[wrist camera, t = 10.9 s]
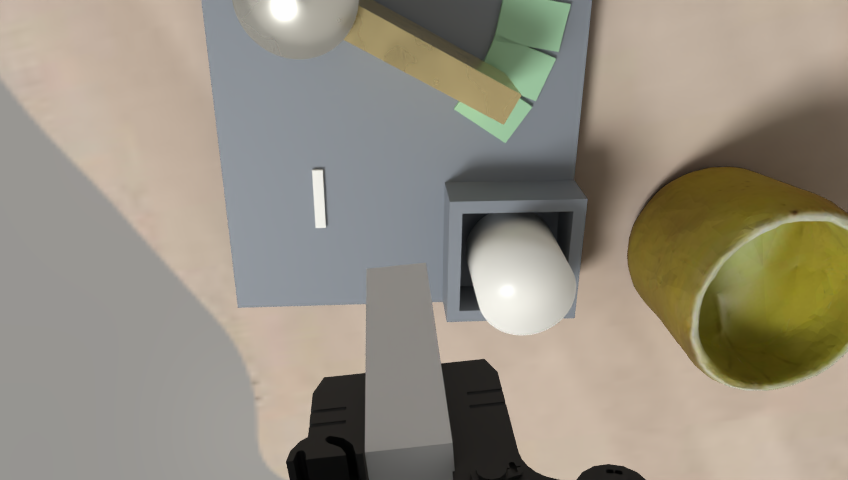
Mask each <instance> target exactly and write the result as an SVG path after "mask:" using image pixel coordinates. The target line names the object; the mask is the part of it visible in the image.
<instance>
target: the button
mask: <svg viewBox="0 0 848 480" xmlns="http://www.w3.org/2000/svg"><path fill="white" fill-rule="evenodd" d="M465 254H466V260H467V264H468V267H469V271H470V275H471V279H472V282H473V286H474V290H475V294H476V297H477V301H478V305H479V308H480V311H481V313H482V315H483V316H484V318H485V319H486V320H487V321H488V322H489V323H490V324H491V325H492V326H493V327H495V328H496V329H498V330H500V331H502V332H505V333H508V334H513V335H531V334H536V333H540V332H543V331H545V330H547V329H549V328H551V327H553V326H554V325H556V324H557V323H558V322H559V321H561V320H562V319H563V318H564V317H565V315H566V314H567V313H568V311H569V310H570V308H571V306H572V304H573V302H574V299H575V295H576V280H575V276H574V273H573V271H572V269H571V267H570V265H569V264H568V262H567V260H566V258H565V256H564V254H563V252H562V251H561V249H560V247H559V245H558V243H557V241H556V240H555V238H554V236H553V234H552V232H551V230H550V228H549V227H548V225H547V224H546V222H545V221H544V220H543V219H542V218H541V217H540V216H538V215H537V214H535V213H534V212H519V213H489V214H488V215H486V216H484V217H483V218H482V219H481V220H479V221H478V222H477V223H476V225H475V226H474V227H473V228H472V230H471V232H470V234H469V236H468V238H467V242H466V248H465Z"/></svg>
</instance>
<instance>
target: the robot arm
mask: <svg viewBox="0 0 848 480" xmlns="http://www.w3.org/2000/svg"><path fill="white" fill-rule="evenodd" d="M286 464H287V468H288V473H289V478H290V480H558V479H554V478H549V477H546V476H543V475H541V474H539V473H537V472H535V471H534V470H532V469H531V468H529V467H528V466H527V465H526V464H525V462H524V461H523V460H522V459H521V457H520V454H519V452H518V449H517V445H516V441H515V437H514V433H513V430H512V426H511V422H510V418H509V414H508V410H507V407H506V404H505V399H504V395H503V392H502V387H501V384H500V380H499V376H498V372H497V371H496V370H495V369H494V368H493V367H492V366H491V365H490V364H489V363H488V362H487V361H486V360H485V359H480V360H470V361H461V362H451V363H442V364H441V361H440V354H439V347H438V341H437V334H436V327H435V320H434V314H433V307H432V300H431V293H430V286H429V280H428V273H427V266H426V263H418V264H409V265H399V266H389V267H379V268H369V269H367V272H366V373H362V374H353V375H343V376H334V377H324V378H323V380H322V381H321V383H320V384H319V386H318V387H317V388H316V390H315V391H314V393H313V397H312V406H311V415H310V428H309V433H308V438H306V439H304V440H302V441H300V442H299V443H298V444H297V445H296V446H295V447H294V448H293V449H292V450H291V451H290V453H289V456H288V458H287V461H286ZM577 480H645V479H644V478H643V477H642V476H641V475H640V474H639V473H637V472H635V471H633V470H631V469H628V468H626V467H624V466H617V465H610V464H606V465H599V466H594V467H592V468H590V469H588V470H586V471H584V472H582V473H581V475H580V476H579V477H578V479H577Z"/></svg>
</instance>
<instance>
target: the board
mask: <svg viewBox="0 0 848 480" xmlns="http://www.w3.org/2000/svg"><path fill="white" fill-rule="evenodd" d="M374 1H376V2H378V3H380V4H381V5H383V6H385V7H387V8H389V9H390V10H392V11H394V12H396V13H398V14H399V15H401V16H403V17H405V18H407V19H408V20H410V21H412V22H414V23H416V24H417V25H419V26H421V27H423V28H425V29H427V30H428V31H430V32H432V33H434V34H436V35H437V36H439V37H441V38H443V39H445V40H446V41H448V42H450V43H452V44H454V45H455V46H457V47H459V48H461V49H463V50H464V51H466V52H468V53H470V54H472V55H473V56H475V57H477V58H479V59H481V60H483V61H484V62H486V63H488V64H490V65H492V66H493V67H495V68H497V69H499V70H501V71H502V72H504V73H505V74H506V75H507V76H508V77H509V79H510V80H511V81H512V83H513V84H514V85H515V87H516V88H517V89H518V91H519V92H520V93H521V94H522V95H521V97H520V99H519V100H518V102H517V104H516V105H515V107H514V109H513V110H512V112H511V114H510V115H509V117H508V119H507V120H506V122H505V124H504V125H503V124H501V123H499V122H497V121H495V120H494V119H492V118H490V117H488V116H486V115H484V114H482V113H480V112H479V111H477V110H475V109H473V108H471V107H469V106H467V105H465V104H463V103H462V102H460V101H458V100H456V99H454V98H452V97H450V96H448V95H447V94H445V93H443V92H441V91H439V90H437V89H435V88H433V87H432V86H430V85H428V84H426V83H424V82H422V81H420V80H418V79H416V78H415V77H413V76H411V75H409V74H407V73H405V72H403V71H401V70H400V69H398V68H396V67H394V66H392V65H390V64H388V63H386V62H384V61H383V60H381V59H379V58H377V57H375V56H373V55H371V54H369V53H368V52H366V51H364V50H362V49H360V48H358V47H356V46H354V45H352V44H351V43H349V42H347V41H345V40H343V41H342V42H341V43H340V44H339V45H338V46H336V47H335V48H334V49H332V50H331V51H329V52H327V53H325V54H323V55H320V56H318V57H314V58H310V59H289V58H284V57H281V56H277V55H275V54H273V53H270V52H269V51H267V50H265V49H264V48H262V47H261V46H259V45H258V44H257V43H256V42H255V41H254V40H253V39H251V38H250V36H249V35H248V34H247V33H246V31H245V30H244V29H243V27H242V25H241V24H240V22H239V20H238V18H237V16H236V13H235V10H234V7H233V2H232V0H202V9H203V17H204V26H205V34H206V42H207V51H208V59H209V68H210V76H211V85H212V93H213V101H214V110H215V118H216V127H217V135H218V143H219V152H220V160H221V169H222V177H223V185H224V194H225V202H226V211H227V219H228V227H229V236H230V244H231V253H232V261H233V270H234V278H235V286H236V295H237V303H238V308H242V307H277V306H311V305H346V304H366V272H367V269H369V268H379V267H389V266H399V265H409V264H418V263H426V266H427V273H428V280H429V286H430V293H431V300H432V302H443V303H444V309H445V314H446V320H447V322H462V321H487V320H486V319H485V318H484V316H483V315H482V313H481V311H480V308H479V305H478V301H477V297H476V294H475V290H474V286H473V282H472V279H471V275H470V271H469V267H468V264H467V260H466V254H465V248H466V242H467V238H468V236H469V234H470V232H471V230H472V228H473V227H474V226H475V225H476V223H477V222H478V221H479V220H481V219H482V218H483V217H484V216H486V215H488V214H489V213H519V212H534V213H535V214H537V215H538V216H540V217H541V218H542V219H543V220H544V221H545V222H546V224H547V225H548V227H549V228H550V230H551V232H552V234H553V236H554V238H555V240H556V241H557V243H558V245H559V247H560V249H561V251H562V252H563V254H564V256H565V258H566V260H567V262H568V264H569V265H570V267H571V269H572V271H573V273H574V276H575V280H576V295H575V299H574V302H573V304H572V306H571V308H570V310H569V311H568V313H567V314H566V315H565V317H564V318H575V309H576V300H577V291H578V282H579V273H580V264H581V255H582V246H583V237H584V228H585V219H586V210H587V201H588V199H587V197H586V196H585V195H584V193H583V192H582V191H581V189H580V188H579V186H578V185H577V184H576V182H575V181H574V175H575V165H576V155H577V145H578V135H579V125H580V115H581V105H582V95H583V85H584V75H585V65H586V55H587V46H588V36H589V26H590V16H591V6H592V0H374Z"/></svg>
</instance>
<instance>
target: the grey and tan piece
mask: <svg viewBox="0 0 848 480" xmlns="http://www.w3.org/2000/svg"><path fill="white" fill-rule="evenodd" d="M232 2H233V7H234V10H235V13H236V16H237V18H238V20H239V22H240V24H241V25H242V27H243V29H244V30H245V31H246V33H247V34H248V35H249V36H250V38H251V39H253V40H254V41H255V42H256V43H257V44H258V45H259V46H261V47H262V48H264V49H265V50H267V51H269V52H270V53H273V54H275V55H277V56H281V57H284V58H289V59H310V58H314V57H318V56H320V55H323V54H325V53H327V52H329V51H331V50H332V49H334V48H335V47H336V46H338V45H339V44H340V43H341V42H342V41H343V40H345V41H347V42H349V43H351V44H352V45H354V46H356V47H358V48H360V49H362V50H364V51H366V52H368V53H369V54H371V55H373V56H375V57H377V58H379V59H381V60H383V61H384V62H386V63H388V64H390V65H392V66H394V67H396V68H398V69H400V70H401V71H403V72H405V73H407V74H409V75H411V76H413V77H415V78H416V79H418V80H420V81H422V82H424V83H426V84H428V85H430V86H432V87H433V88H435V89H437V90H439V91H441V92H443V93H445V94H447V95H448V96H450V97H452V98H454V99H456V100H458V101H460V102H462V103H463V104H465V105H467V106H469V107H471V108H473V109H475V110H477V111H479V112H480V113H482V114H484V115H486V116H488V117H490V118H492V119H494V120H495V121H497V122H499V123H501V124H503V125H504V124H505V122H506V120H507V119H508V117H509V115H510V114H511V112H512V110H513V109H514V107H515V105H516V104H517V102H518V100H519V99H520V97H521V95H522V94H521V93H520V92H519V91H518V89H517V88H516V87H515V85H514V84H513V83H512V81H511V80H510V79H509V77H508V76H507V75H506V74H505V73H504V72H502V71H501V70H499V69H497V68H495V67H493V66H492V65H490V64H488V63H486V62H484V61H483V60H481V59H479V58H477V57H475V56H473V55H472V54H470V53H468V52H466V51H464V50H463V49H461V48H459V47H457V46H455V45H454V44H452V43H450V42H448V41H446V40H445V39H443V38H441V37H439V36H437V35H436V34H434V33H432V32H430V31H428V30H427V29H425V28H423V27H421V26H419V25H417V24H416V23H414V22H412V21H410V20H408V19H407V18H405V17H403V16H401V15H399V14H398V13H396V12H394V11H392V10H390V9H389V8H387V7H385V6H383V5H381V4H380V3H378V2H376V1H374V0H232Z"/></svg>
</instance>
